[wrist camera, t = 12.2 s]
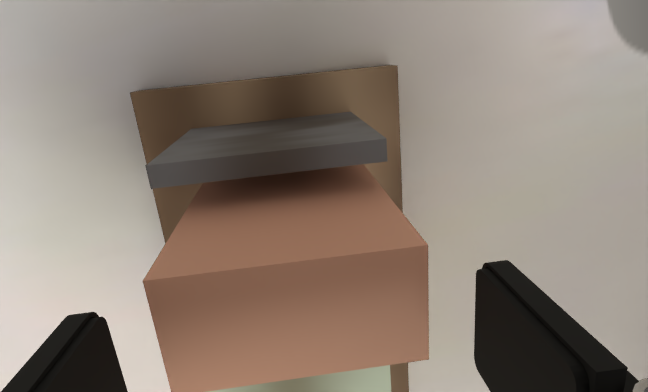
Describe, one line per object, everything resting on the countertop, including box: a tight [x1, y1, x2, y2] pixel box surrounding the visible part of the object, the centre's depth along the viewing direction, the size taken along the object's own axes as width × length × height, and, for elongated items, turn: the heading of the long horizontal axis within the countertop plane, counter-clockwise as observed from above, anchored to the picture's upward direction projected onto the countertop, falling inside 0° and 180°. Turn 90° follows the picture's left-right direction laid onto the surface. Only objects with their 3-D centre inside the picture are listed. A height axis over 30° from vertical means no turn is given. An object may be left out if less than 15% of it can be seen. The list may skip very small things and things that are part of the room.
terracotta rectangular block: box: [143, 164, 429, 392], centre depth 16 cm, size 7×4×12 cm, turn 95°
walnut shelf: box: [130, 65, 409, 392], centre depth 21 cm, size 13×24×10 cm, turn 5°
